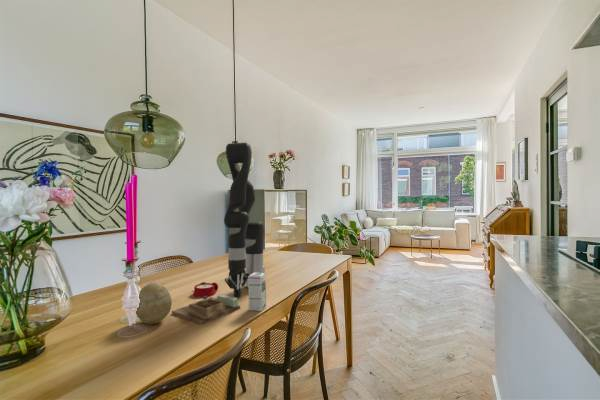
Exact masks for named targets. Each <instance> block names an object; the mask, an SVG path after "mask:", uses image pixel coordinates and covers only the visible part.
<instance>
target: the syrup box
mask: <svg viewBox="0 0 600 400" xmlns="http://www.w3.org/2000/svg"><path fill="white" fill-rule="evenodd" d="M266 285H267V284H266V272H265V273H252V274H251V275H249V276H248V287H247V288H248V310H249V311H252V310H259V311H258V312H262V311H263V310H264V309H265V308H266V307H267V294H266V293H267V289H266V287H267V286H266Z"/></svg>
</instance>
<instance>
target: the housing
mask: <svg viewBox="0 0 600 400" xmlns="http://www.w3.org/2000/svg"><path fill="white" fill-rule="evenodd" d="M202 298H203V299H201V300H199V301H195V302H191V303H189V304H188V305H186V306H183V307H180V308H177V309H174V310H172V311H171V314H172V315H174V316H177V317H180V318H183V319H185V320H188V321H191V322H194V323H197V324H200V325H203V324H204V323H207V322H210V321H212V319H213V320H215V319H217V317H218V318H221V317H222V315H223V316H225V315H228V314H230V313H232V312H235V311H237V309H238V310H240V309H241V305H239V304H238V306H236V307H230V306H227V305H225V302H222V301H219V300H217V298H214V297H212V296H211V297H210V296H204V297H202ZM227 313H228V314H227Z"/></svg>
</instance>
